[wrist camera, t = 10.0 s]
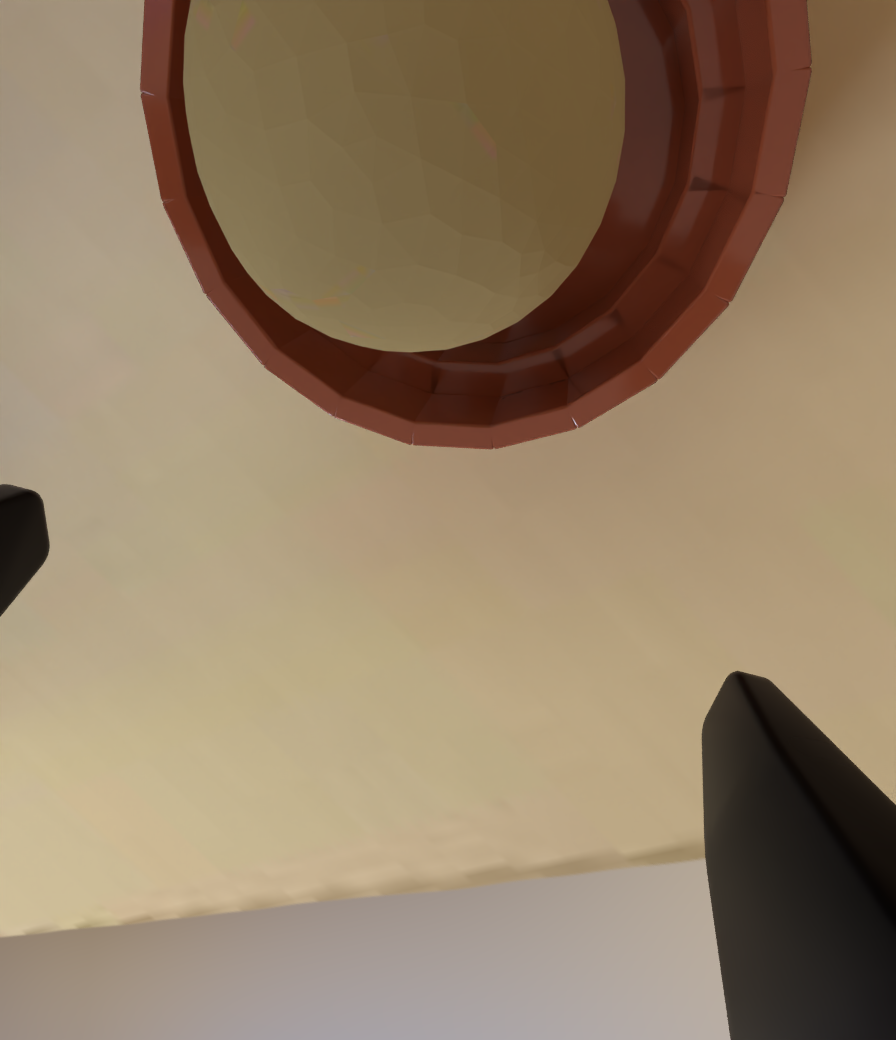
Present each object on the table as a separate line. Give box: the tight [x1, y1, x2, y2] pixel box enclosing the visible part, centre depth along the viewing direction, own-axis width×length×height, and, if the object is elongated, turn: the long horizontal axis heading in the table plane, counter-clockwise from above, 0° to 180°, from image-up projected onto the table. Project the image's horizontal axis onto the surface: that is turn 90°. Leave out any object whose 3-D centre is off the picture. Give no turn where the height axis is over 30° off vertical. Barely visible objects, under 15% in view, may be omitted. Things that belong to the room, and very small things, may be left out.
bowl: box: [140, 0, 812, 449], centre depth 14 cm, size 12×12×5 cm
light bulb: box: [183, 0, 625, 352], centre depth 12 cm, size 6×6×10 cm
